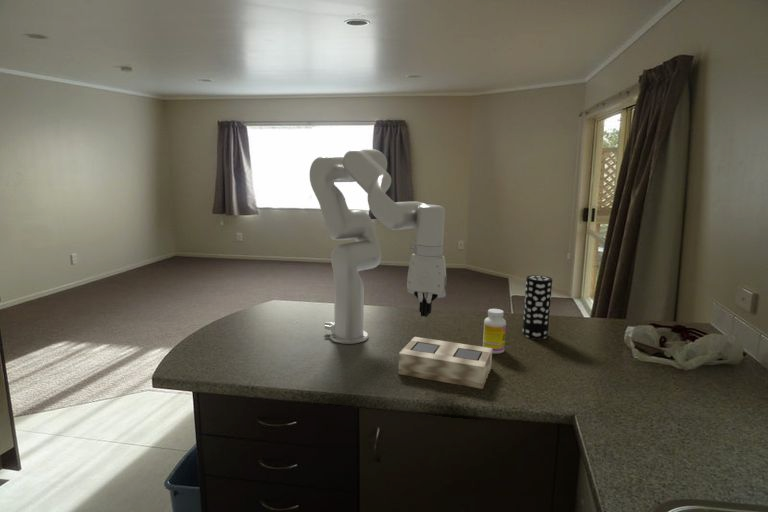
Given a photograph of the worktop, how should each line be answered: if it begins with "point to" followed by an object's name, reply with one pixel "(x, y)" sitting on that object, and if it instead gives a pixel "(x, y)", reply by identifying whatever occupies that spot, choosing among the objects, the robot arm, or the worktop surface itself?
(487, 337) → the supplement bottle
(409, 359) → the switch box
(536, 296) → the white-spotted black cylinder
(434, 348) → the cap
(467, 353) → the cap
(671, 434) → the worktop surface
